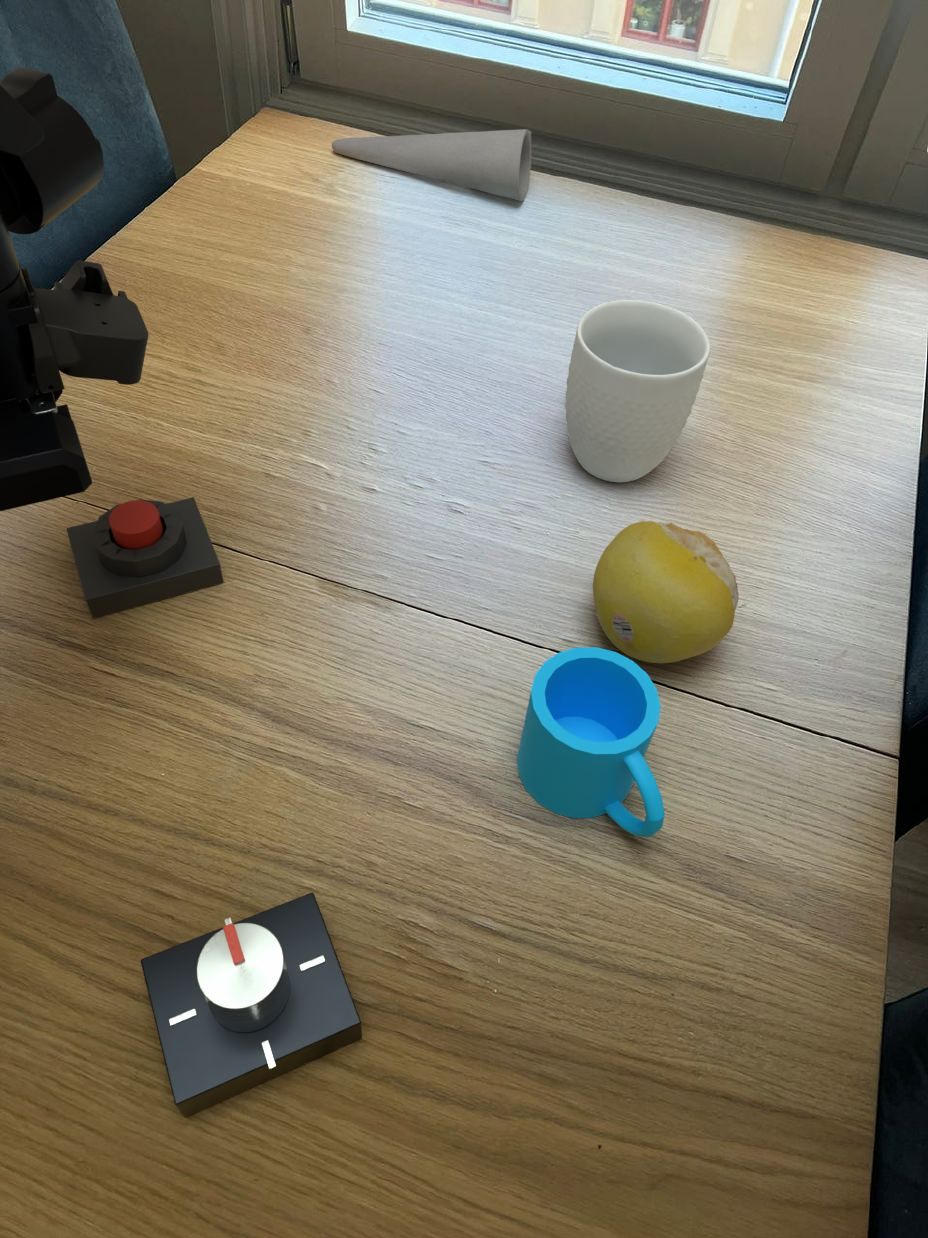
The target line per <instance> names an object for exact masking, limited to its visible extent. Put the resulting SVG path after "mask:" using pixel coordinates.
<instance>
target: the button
mask: <svg viewBox="0 0 928 1238" xmlns="http://www.w3.org/2000/svg"><path fill="white" fill-rule="evenodd" d="M119 504H120V505H119V506H117V507H116V508H115V509H114V510H113V511H112V512H111V514H110V516H109V524H110V527H111V530H112V533H113V536H114V539H115V541H116V543H117V544H118V545H120V546H121V547H123V548H125V549H132V550H137V549H141V548H145V547H148V546H152V545H153V544H154V543H156V542H157V541H158V540H159V539H160V538H161V536H162V533H163V527H162V524H161V520H160V516H159V512H158V509H157V508H156V507H155V506H154V505H153V504H151V503H149V502H146V501H142V500H140V499H135V500H129V501H125V502H122V503H119Z"/></svg>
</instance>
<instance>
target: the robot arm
mask: <svg viewBox="0 0 928 1238" xmlns="http://www.w3.org/2000/svg"><path fill="white" fill-rule="evenodd" d="M104 168H105V159H104V152H103V148H102V145H101V142H100V140H99V139H98V138H97V137H95V135H94V132H93V130H92V128H91V127H90V125H88V123H87V121H86V120H85V118H84V117H83V116H82V115H81V114H80V113H79V111H78V110H76V109H75V107H73V105H71V104H70V103H69V102H67V101H66V100H65V99H63V98H62V97H61V96H59V95H58V92H57V88H56V84H55V80H54V76H53V75H52V74H51V73H49V72H45V71H39V70H36V69H30V68H26V67H21V66H19V67H17V68H15V69H13V70H12V71H10V72H9V73H8V74H6V75H5V76H4V77H3V79H2V80H1V81H0V512H4V511H8V510H13V509H16V508H21V507H26V506H29V505H34V504H37V503H38V504H39V503H43V502H46V501H52V500H55V499H60V498H64V497H68V496H72V495H77V494H81V493H85V492H86V491H87V489H89V488H90V487H91V485H92V484H93V480H92V477H91V473H90V469H89V466H88V463H87V459H86V455H85V453H84V451H83V447H82V444H81V440H80V438H79V434H78V431H77V428H76V425H75V422H74V420H73V419H72V416H71V412H70V408H69V405H68V404H62V405H57V401H58V400H59V399H60V397H61V395H62V394H63V392H64V390H65V389H66V388H65V384H64V382H63V378H62V376H61V373H62V374H64V375H66V376H69V377H71V378H79V379H91V380H103V381H113V382H117V384H119V385H126V386H130V385H131V386H132V385H136V384H138V383H140V382H141V379H142V374H143V368H144V362H145V358H146V352H147V347H148V341H149V335H150V334H149V331H148V329H147V326H146V323H145V322H144V319H143V316H142V313H141V311H140V309H139V307H138V305H137V303H135V302H134V301H132V300H131V299H129V298H128V296H127V293H126V291H125V290H118V291H117V295H115V293H114V292H113V290H112V288H111V285H110V282H109V280H108V278H107V275H106V273H105V270H104V267H103V265H102V264H101V263H99V262H93V261H86V260H80V259H77V260H76V261H75V262H74V263H73V265H72V266H71V267H70V269H69V270H68V271H67V272H66V274H65V275H64V277H63V278H62V279H61V281H54V285H53V286H54V287H53V289H49V288H35V287H34V286H33V283H32V280H31V277H30V274H29V273H30V272H29V270H28V268H27V267H21V264H20V261H19V259H18V257H17V254H16V250H15V246H14V244H13V242H12V238H11V235H10V233H13V234H16V235H17V234H18V235H31V234H35V233H38V232H39V231H41V229H43V228H44V227H46V225H48V224H49V223H50V222H51V221H53V220H54V219H56V218H57V217H58V216H59V215H61V214H62V213H63V212H64V211H66V210H67V209H68V208H69V207H70V206H73V204H75V203H76V202H77V201H78V200H80V199H81V198H82V197H83V196H85V195H86V194H87V193H89V192H90V191H91V190H93V189H94V188H95V187H96V186H97V185H98V184H99V183H100V181H101V179H102V177H103V174H104V170H105V169H104Z"/></svg>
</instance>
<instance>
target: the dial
mask: <svg viewBox="0 0 928 1238" xmlns="http://www.w3.org/2000/svg"><path fill="white" fill-rule="evenodd" d="M234 923H235V922H232V923H231V924H228V925H226V924H225V925H223V926H222V928H223V929H222V930H220V931H219V932H217V933H216V934H215V935H213V936H212V937H211V938H210V939H209V940H208V942H207V943H206V944H205V946H204V947H203V949H202V951H201V953H200V955H199V958H198V962H197V969H196V975H197V981H198V985H199V987H200V990H201V992H202V994H203V996H204V998H205V1000H206V1002H207V1005H208V1007H209V1009H210V1011H211V1013H212V1015H213V1017H214V1018H215V1019H216V1020H217V1021H218V1022H219V1023H220V1024H221V1025H222V1026H223V1027H225V1028H227V1029H229V1030H232V1031H236V1032H252V1031H256V1030H259V1029H261V1028H263V1027H265V1026H267V1025H269V1024H270V1023H271V1022H273V1021H274V1020H275V1019H276V1018H277V1017H278V1016H279V1015H280V1013H281V1012H282V1010H283V1009H284V1007H285V1005H286V1003H287V1000H288V997H289V992H290V980H289V975H288V971H287V967H286V962H285V958H284V954H283V950H282V947H281V944H280V942H279V941H278V939H277V938H276V936H275V935H274V934H273V933H272V932H271V931H269V930H268V929H266V928H265V927H263V926H260V925H257V924H253V923H238V924H234Z"/></svg>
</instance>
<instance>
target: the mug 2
mask: <svg viewBox="0 0 928 1238" xmlns="http://www.w3.org/2000/svg"><path fill="white" fill-rule="evenodd" d="M661 707H662V705H661V701H660V697H659V693H658V688H657V686H656V685H655V684H654V682H653V681H652V679H651V677H650V675H649V674H648V673H647V672H646V671H645V670H644V669H642V668H641V667H640V665H638V664H637V663H636V662H635V661H633V659H630V658H628V657H626V656H624V655H622V654H620V653H618V652H616V651H613V650H610V649H604V648H601V647H595V646H594V647H593V646H589V647H588V646H586V647H581V646H580V647H574V648H573V647H572V648H570V649H567V650H563V651H559V652H557V653H556V654H555V655H553V656H552V657H550V658H549V659H547V660H545V661H544V663H543V664H542V665H541V666H540V668H539V669H538V671H536V673H535V675H534V679H533V681H532V685H531V690H530V693H529V699H528V704H527V709H526V713H525V719H524V723H523V727H522V731H521V736H520V741H519V746H518V750H517V751H518V752H517V757H516V760H517V761H516V763H517V771H518V772H517V773H518V776H519V778H520V781H521V782H522V784H523V786H524V789H525V790H526V792H527V793H528V794H529V795H530V796H531V797H532V799H534V801H536V802H537V804H539V805H540V806H542V807H544V808H545V809H547V810H549V811H551V812H552V813H554V814H557V815H560V816H564V817H568V818H571V819H594V818H596V817H597V818H598V817H599V816H600V817H601V816H602V815H606V814H607V815H608V816H609V817H610V819H611V820H613V821H614V822H615V823H616V824H617V825H618V826H619V827H620V828H621V829H623V830H624V831H626V832H628V833H629V834H631V835H633V836H635V837H641V838H651V837H653V836H654V835H656V834H657V833H658V832H659V831H660V830H661V829H662V828H663V826H664V819H665V807H664V802H663V796H662V794H661V791H660V788H659V786H658V782H657V780H656V778H655V776H654V774H653V772H652V770H651V768H650V767H649V765H648V762H647V761H646V759H645V756H646V753H647V751H648V749H649V746H650V744H651V741H652V739H653V736H654V734H655V732H656V729H657V727H658V724H659V721H660V714H661ZM634 783H635V784H636V786H637V788H638V792H639V794H640V796H641V799H642V802H643V806H644V811H645V812H644V813H645V820H642V819H640V818H639V817H638V816H635V814H633V813H632V812H631V811H630V810H629V809H627V807H626V806H624V805H623V802H624V801H625V800H626V798H627V796H628V794H629V793H630V791H631V789H632V788H633V785H634Z"/></svg>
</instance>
